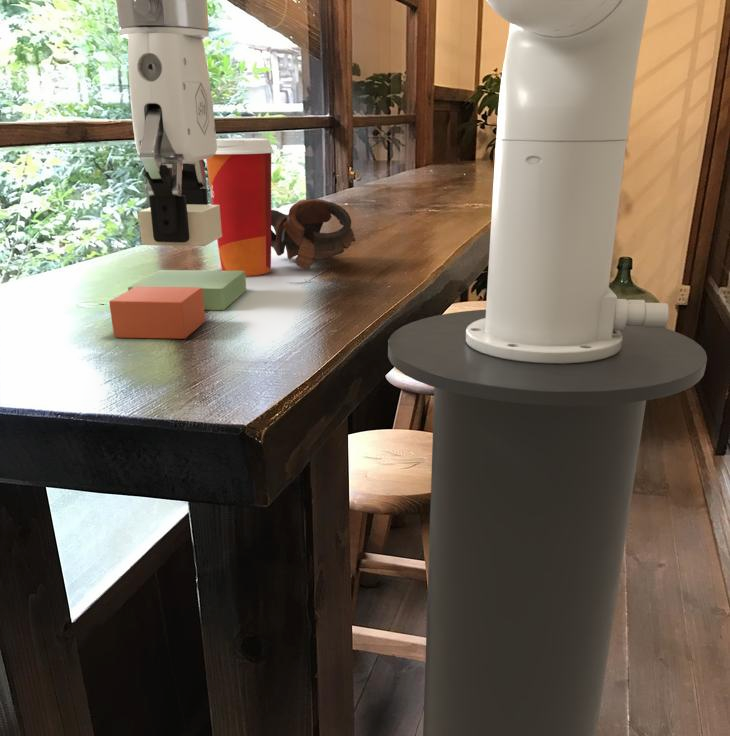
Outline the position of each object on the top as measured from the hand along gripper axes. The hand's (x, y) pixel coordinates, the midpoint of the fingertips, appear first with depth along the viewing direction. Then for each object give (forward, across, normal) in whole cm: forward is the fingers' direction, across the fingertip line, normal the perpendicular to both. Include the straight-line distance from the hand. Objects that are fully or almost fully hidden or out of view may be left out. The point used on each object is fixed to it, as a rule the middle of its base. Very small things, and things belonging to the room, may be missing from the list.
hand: (182, 234), depth 77 cm
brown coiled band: (+6, +21, -8) cm, 23 cm away
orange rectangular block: (+6, -12, -1) cm, 14 cm away
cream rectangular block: (+1, 0, 0) cm, 1 cm away
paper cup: (+6, +15, -2) cm, 16 cm away
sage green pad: (+6, 0, 0) cm, 6 cm away
